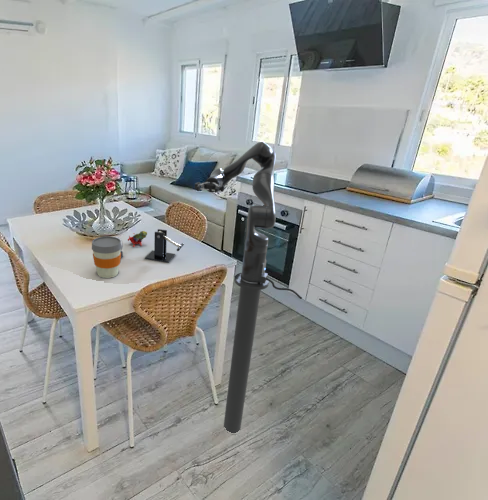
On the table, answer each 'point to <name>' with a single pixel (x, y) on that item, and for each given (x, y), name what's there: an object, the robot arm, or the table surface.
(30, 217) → the table surface
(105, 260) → the reusable coffee cup
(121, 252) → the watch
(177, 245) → the switch lever
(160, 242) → the switch bracket
